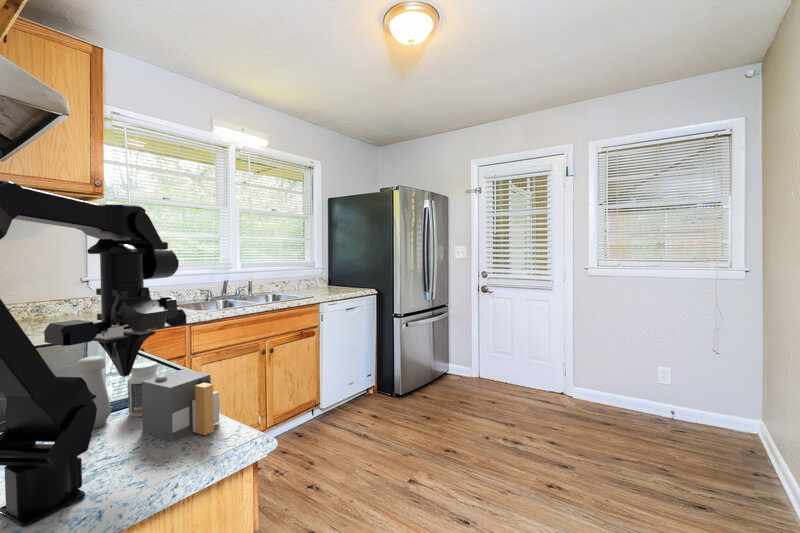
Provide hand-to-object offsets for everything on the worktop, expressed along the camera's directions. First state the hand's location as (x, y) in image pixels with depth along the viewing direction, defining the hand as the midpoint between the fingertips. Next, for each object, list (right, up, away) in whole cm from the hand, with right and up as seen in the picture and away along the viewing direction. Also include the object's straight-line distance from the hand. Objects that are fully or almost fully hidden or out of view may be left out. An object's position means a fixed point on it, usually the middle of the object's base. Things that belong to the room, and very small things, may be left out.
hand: (125, 375), depth 63 cm
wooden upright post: (+10, -12, +8) cm, 18 cm away
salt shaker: (-13, -12, +10) cm, 21 cm away
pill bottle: (-7, -12, +16) cm, 21 cm away
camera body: (+4, -12, +9) cm, 15 cm away
